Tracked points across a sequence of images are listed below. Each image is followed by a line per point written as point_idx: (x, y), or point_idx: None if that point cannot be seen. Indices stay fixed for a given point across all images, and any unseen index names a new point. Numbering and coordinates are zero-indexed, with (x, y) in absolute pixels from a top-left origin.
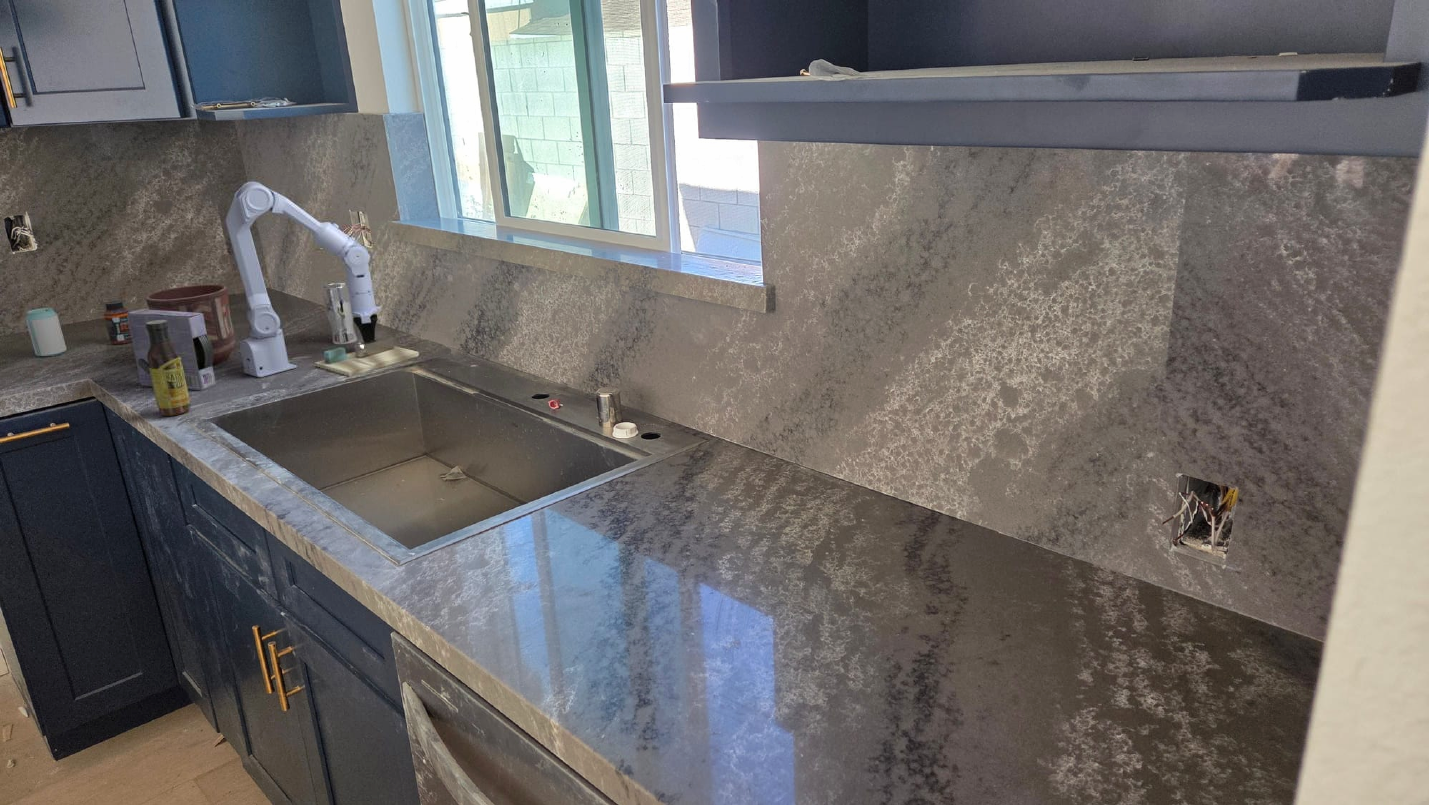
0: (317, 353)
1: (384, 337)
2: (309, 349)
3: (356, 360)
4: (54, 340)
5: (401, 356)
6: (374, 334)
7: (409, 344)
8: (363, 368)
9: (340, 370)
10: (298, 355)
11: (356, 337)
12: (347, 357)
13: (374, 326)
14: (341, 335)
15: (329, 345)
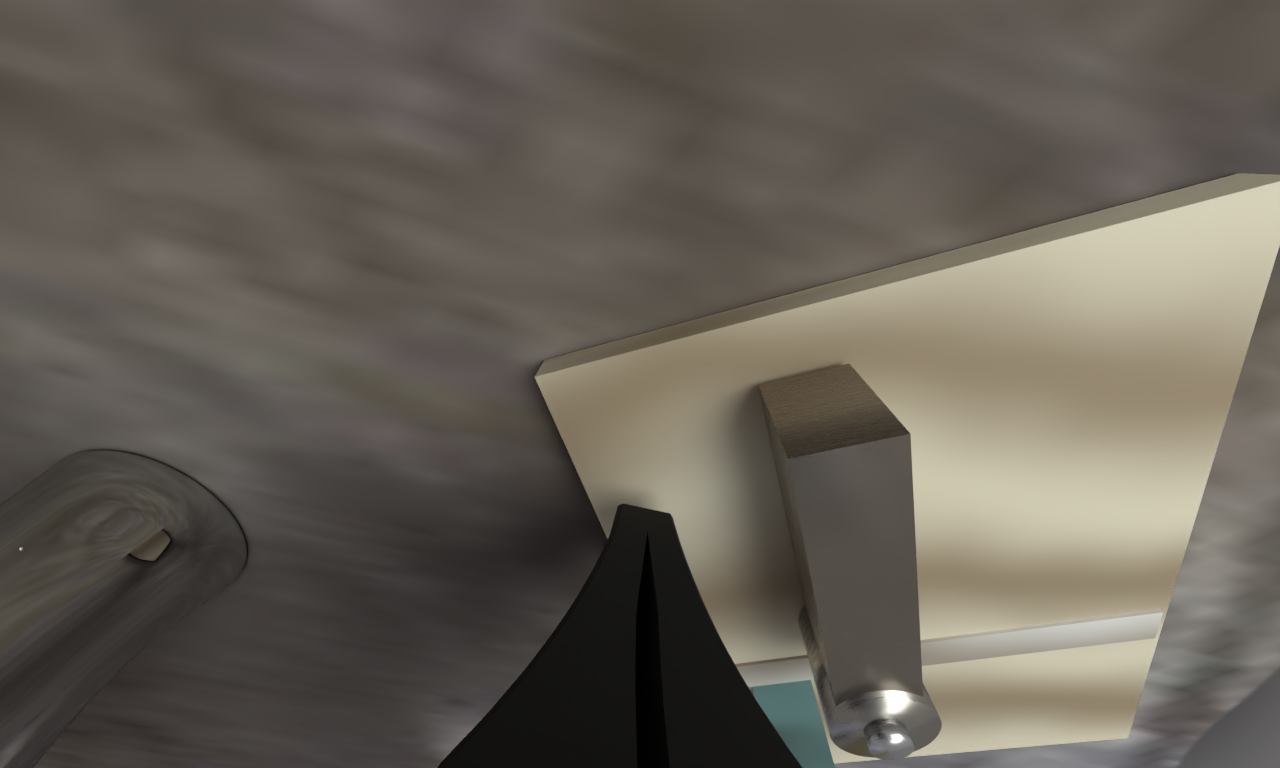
0: (417, 685)
1: (813, 505)
2: (293, 687)
3: None
4: None
5: (1217, 398)
6: (701, 602)
7: (607, 83)
8: (1144, 672)
9: (1010, 743)
10: (403, 737)
11: (120, 471)
12: (773, 671)
13: (769, 734)
14: (174, 611)
15: (240, 608)
